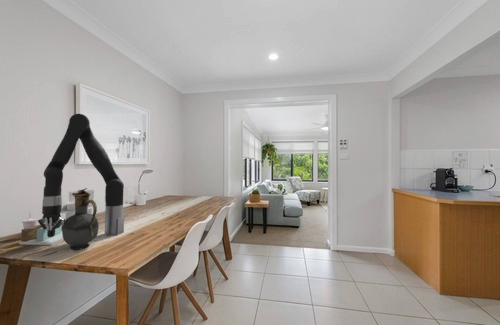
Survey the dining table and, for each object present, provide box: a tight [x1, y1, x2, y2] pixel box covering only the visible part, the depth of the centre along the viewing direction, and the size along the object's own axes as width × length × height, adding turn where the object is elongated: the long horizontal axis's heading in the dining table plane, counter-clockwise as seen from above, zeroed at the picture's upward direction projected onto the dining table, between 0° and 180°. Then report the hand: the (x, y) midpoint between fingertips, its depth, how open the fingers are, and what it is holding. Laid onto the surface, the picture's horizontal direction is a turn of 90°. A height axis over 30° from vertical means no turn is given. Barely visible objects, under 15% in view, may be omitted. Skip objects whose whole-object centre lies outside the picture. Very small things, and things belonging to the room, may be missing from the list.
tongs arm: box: [36, 224, 63, 241], centre depth 120 cm, size 17×4×7 cm, turn 13°
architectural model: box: [60, 189, 95, 220], centre depth 148 cm, size 28×21×23 cm
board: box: [19, 230, 65, 246], centre depth 120 cm, size 17×20×1 cm
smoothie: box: [21, 211, 39, 229], centre depth 122 cm, size 6×6×14 cm
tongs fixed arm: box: [20, 224, 42, 242], centre depth 118 cm, size 15×3×6 cm, turn 179°
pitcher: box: [61, 187, 99, 251], centre depth 107 cm, size 11×19×30 cm, turn 67°
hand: (51, 236), depth 113 cm, fingers closed
